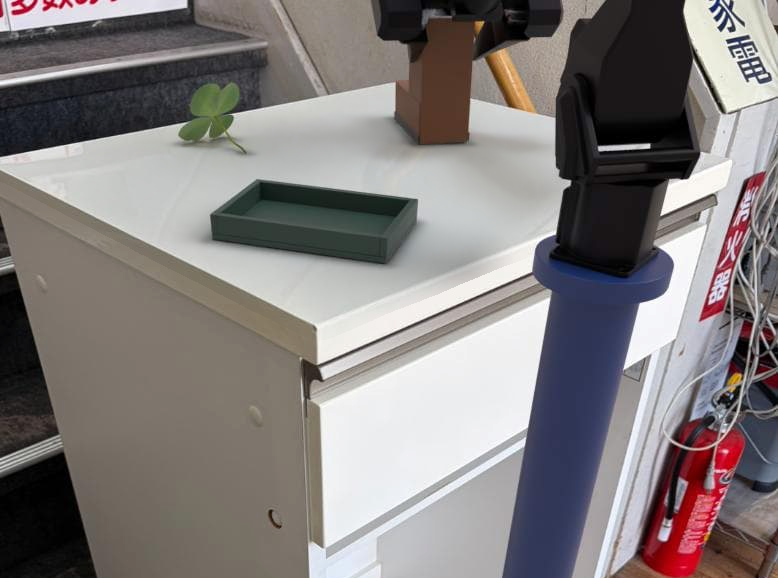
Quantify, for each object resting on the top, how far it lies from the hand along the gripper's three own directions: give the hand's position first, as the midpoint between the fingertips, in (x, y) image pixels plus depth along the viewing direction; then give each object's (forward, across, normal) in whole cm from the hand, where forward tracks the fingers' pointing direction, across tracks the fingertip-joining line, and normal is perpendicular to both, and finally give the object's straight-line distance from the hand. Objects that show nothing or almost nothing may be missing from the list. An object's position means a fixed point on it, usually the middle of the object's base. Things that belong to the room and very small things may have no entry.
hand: (442, 57), depth 89 cm
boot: (+6, 0, +4) cm, 8 cm away
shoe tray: (-14, +20, +24) cm, 34 cm away
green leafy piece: (+5, +25, +6) cm, 26 cm away
